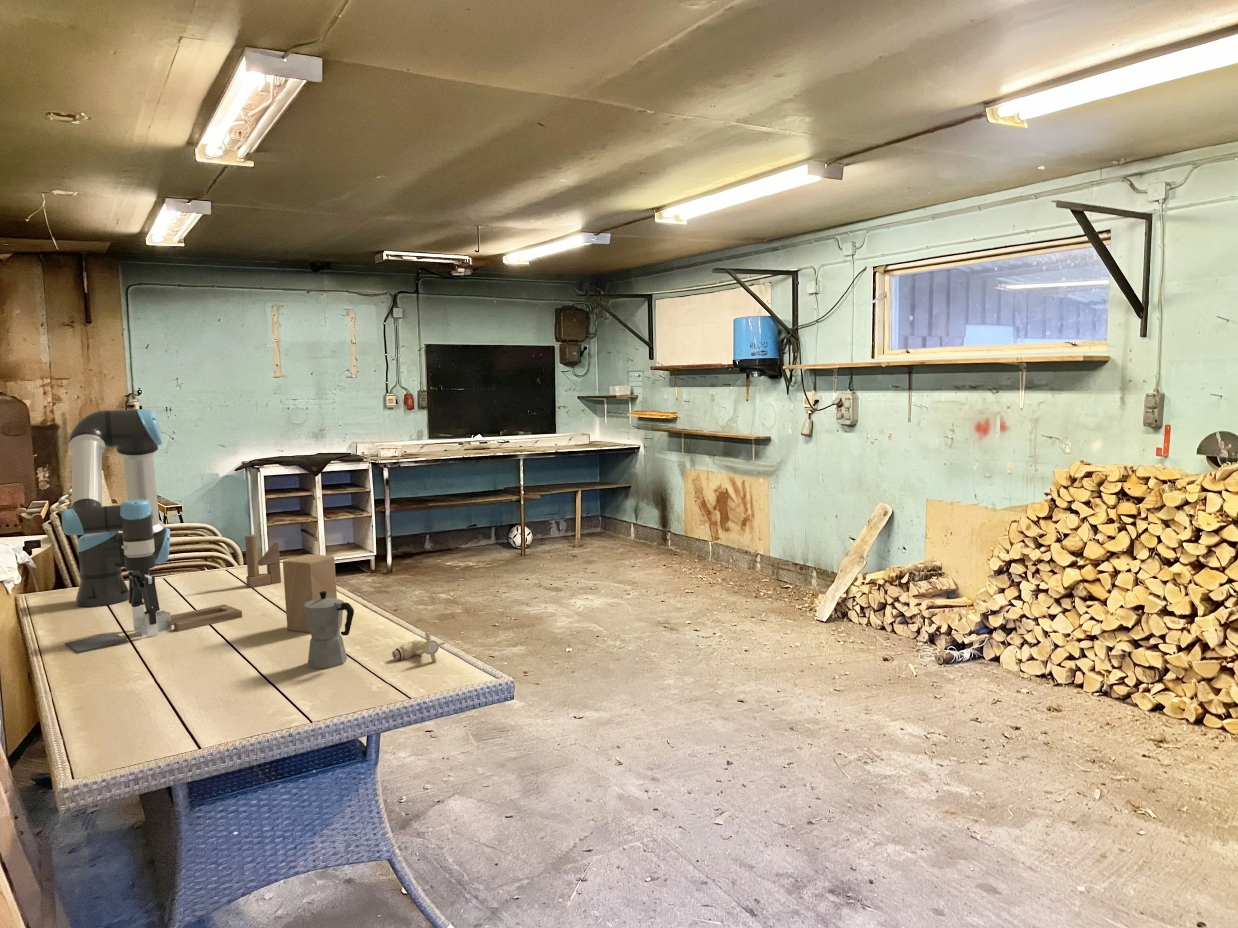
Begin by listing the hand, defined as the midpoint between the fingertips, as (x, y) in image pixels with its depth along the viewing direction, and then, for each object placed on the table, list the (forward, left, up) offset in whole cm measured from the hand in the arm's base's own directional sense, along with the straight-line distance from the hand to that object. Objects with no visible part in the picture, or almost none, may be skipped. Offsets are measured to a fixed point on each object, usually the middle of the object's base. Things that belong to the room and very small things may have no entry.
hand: (146, 631), depth 240 cm
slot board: (0, +16, 0) cm, 16 cm away
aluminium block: (0, +2, 0) cm, 2 cm away
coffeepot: (+69, +20, 0) cm, 71 cm away
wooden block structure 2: (-31, +49, 0) cm, 58 cm away
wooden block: (+35, +33, 0) cm, 47 cm away
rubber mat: (0, -12, 0) cm, 13 cm away
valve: (+83, +35, -1) cm, 90 cm away
